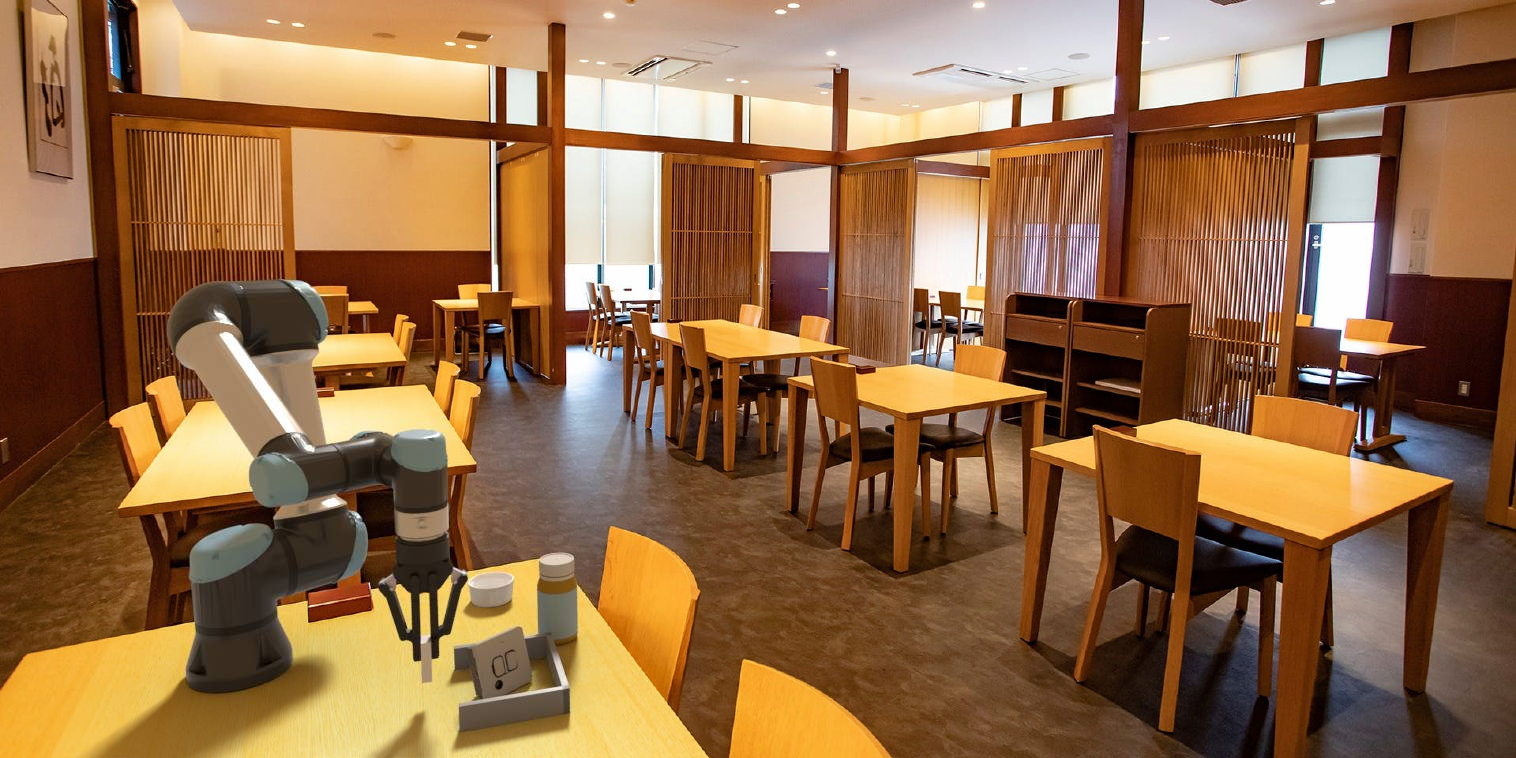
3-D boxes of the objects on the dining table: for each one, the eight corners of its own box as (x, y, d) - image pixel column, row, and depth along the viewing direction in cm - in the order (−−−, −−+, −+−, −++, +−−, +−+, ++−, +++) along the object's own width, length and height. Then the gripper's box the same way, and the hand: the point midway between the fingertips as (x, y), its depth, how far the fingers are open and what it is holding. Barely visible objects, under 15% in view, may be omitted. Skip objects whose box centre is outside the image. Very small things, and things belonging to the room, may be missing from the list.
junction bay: (454, 668, 144) (453, 646, 143) (551, 653, 150) (551, 632, 149) (459, 732, 126) (458, 706, 125) (570, 712, 132) (569, 688, 131)
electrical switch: (487, 705, 133) (481, 648, 132) (466, 698, 136) (460, 642, 135) (534, 681, 141) (529, 626, 140) (513, 675, 144) (508, 621, 143)
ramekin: (460, 607, 168) (459, 586, 168) (481, 589, 177) (480, 569, 176) (502, 611, 167) (501, 590, 166) (522, 593, 175) (521, 573, 175)
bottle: (585, 635, 157) (584, 557, 155) (557, 649, 151) (556, 569, 149) (558, 625, 161) (556, 549, 159) (530, 639, 155) (528, 560, 153)
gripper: (373, 546, 123) (380, 697, 127) (469, 537, 128) (472, 683, 132) (376, 528, 130) (382, 672, 134) (466, 521, 135) (469, 660, 139)
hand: (426, 678), depth 133 cm, fingers closed
